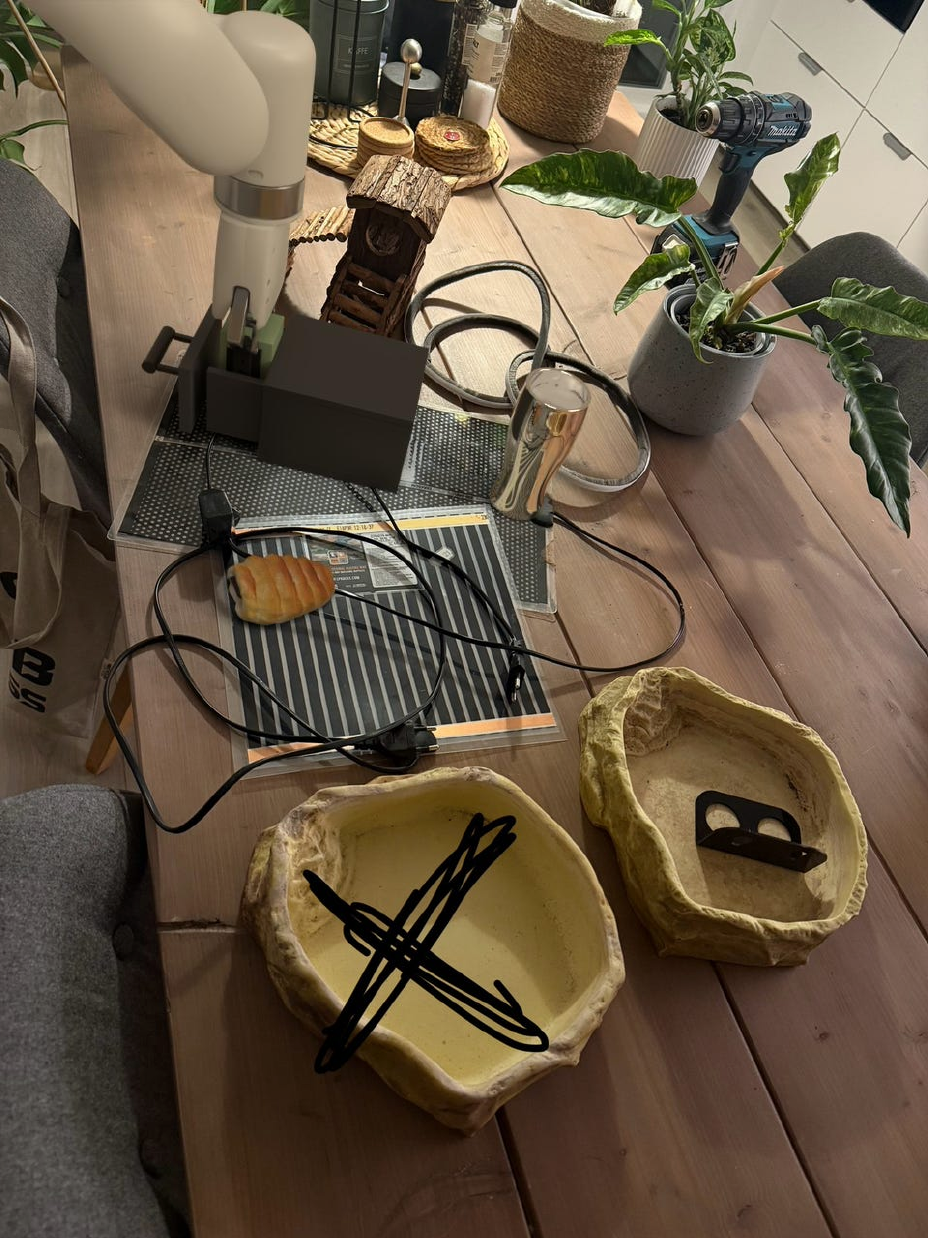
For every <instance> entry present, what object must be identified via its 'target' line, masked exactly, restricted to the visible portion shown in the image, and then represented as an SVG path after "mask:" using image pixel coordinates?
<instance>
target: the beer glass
mask: <svg viewBox="0 0 928 1238" xmlns="http://www.w3.org/2000/svg"><path fill="white" fill-rule="evenodd" d="M521 387H522V388H521V389H520V391H519V394H518V396H517V399H516V401H515V403H514V406H513V409H512V412H511V415H510V418H509V422H508V425H507V426H508V427H507V432H506V439H505V446H504V455H503V461H502V466H501V469H500V471H499V474H498V476H497V477H496V479H495V480H494V481H493V483H492V486H491V487H490V488H489V494H488V495H489V496H488V497H489V501H490V503H491V505H492V506H493V508H494V509H495V510H496V511H497V512H498V513H499V514H501V515H503V516H504V517H506V518H508V519H512V520H514V521H515V520H516V521H531V520H534V519H536V518H537V517H539V516H541V515H540V514H542V512H543V510H542V509H544V507H543V506H545V500H546V494H547V491H548V487H549V485H550V483H551V482H552V480H553V478H554V477H555V476H556V474H557V472H558V471H559V469H560V468H561V467H562V465H563V464H564V462H565V461H566V460H567V459H568V456H569V455H570V453H571V452H572V450H573V448H574V446H575V444H576V442H577V440H578V437H579V436H580V433H581V430H582V428H583V425H584V422H585V419H586V416H587V412H588V410H589V406H590V404H591V401H592V394H591V393H592V392H591V391H590V389H589V387H588V386H587V384H586V383H585V382H583V380H581V379H580V378H579V377H578V376H576V375H575V374H573V373H571V372H569V371H567V370H564V369H560V368H556V367H539V368H536V369H535V368H534V369H533V370H532V371H530V372H529V373H528V374H527V375H526V378H525V381H524V383H523V386H521ZM541 511H542V512H541Z"/></svg>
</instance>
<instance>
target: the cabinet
mask: <svg viewBox="0 0 928 1238" xmlns="http://www.w3.org/2000/svg"><path fill="white" fill-rule="evenodd" d="M284 328H285V331H284V333H283V336H282V338H281V341H280V343H279V346H278V348H277V351H276V353H275V356H274V358H273V361H272V363H271V366H270V368H269V370H268V373H267V375H266V378H265V380H264V383H263V391H262V406H261V420H260V434H259V443H258V448H257V449H258V450H257V461H258V462H263V463H267V464H271V465H276V466H278V467H284V468H287V469H292V470H297V471H301V472H305V473H309V474H313V475H317V476H320V477H325V478H329V479H333V480H337V481H341V482H342V481H343V482H345V483H346V482H347V483H351V484H355V485H359V486H363V487H367V488H371V489H376V490H379V491H384V492H387V493H392V494H398V492H399V488H400V483H401V479H402V475H403V472H404V466H405V462H406V459H407V454H408V450H409V445H410V441H411V439H412V434H413V429H414V424H415V420H416V415H417V411H418V406H419V401H420V397H421V391H422V388H423V387H422V386H423V383H424V382H423V381H424V377H425V373H426V367H427V362H428V358H429V352H430V348H429V347H425V346H421V345H418V344H413V343H410V342H406V341H403V340H398V339H395V338H391V337H387V336H383V335H379V334H375V333H372V332H368V331H364V330H361V329H356V328H352V327H348V326H344V325H342V324H341V325H340V324H337V323H333V322H329V321H325V320H321V319H318V318H314V317H310V316H306V315H302V314H300V313H299V314H298V313H295V312H291V314H290V315H289V318H288V321H287V324H286V326H285V327H284Z"/></svg>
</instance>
